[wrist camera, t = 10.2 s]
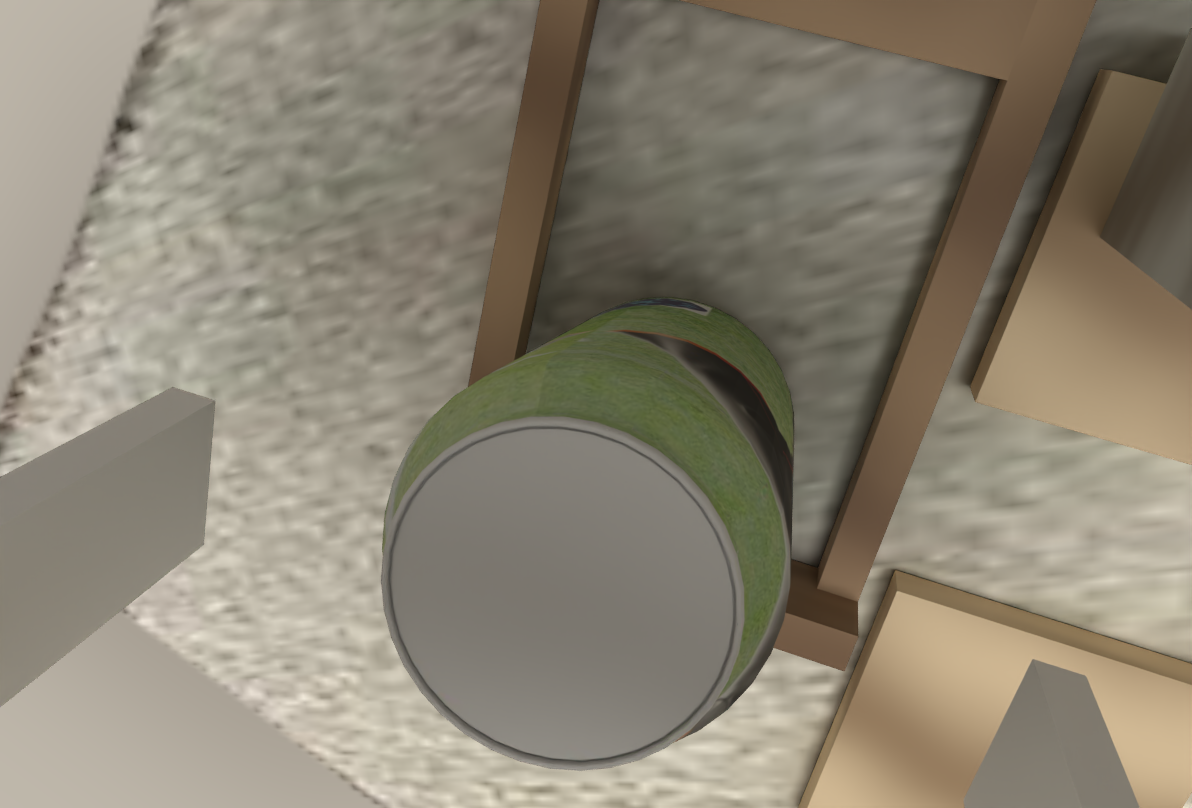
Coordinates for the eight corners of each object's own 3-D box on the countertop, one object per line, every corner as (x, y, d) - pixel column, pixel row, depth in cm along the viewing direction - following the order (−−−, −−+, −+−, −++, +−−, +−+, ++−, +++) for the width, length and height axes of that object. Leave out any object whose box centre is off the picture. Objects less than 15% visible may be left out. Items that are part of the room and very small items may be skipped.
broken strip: (1121, 16, 19) (1373, -4, 10) (1565, 120, 18) (2307, 204, 9) (797, 808, 27) (773, 1195, 18) (1089, 911, 26) (1219, 1378, 17)
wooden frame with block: (668, -598, 17) (473, -1294, 8) (1281, -500, 16) (1851, -1204, 7) (460, 487, 26) (254, 728, 17) (844, 612, 25) (843, 946, 16)
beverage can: (553, 503, 26) (336, 846, 15) (553, 223, 23) (291, 388, 12) (795, 533, 24) (755, 935, 13) (825, 240, 22) (804, 442, 11)
